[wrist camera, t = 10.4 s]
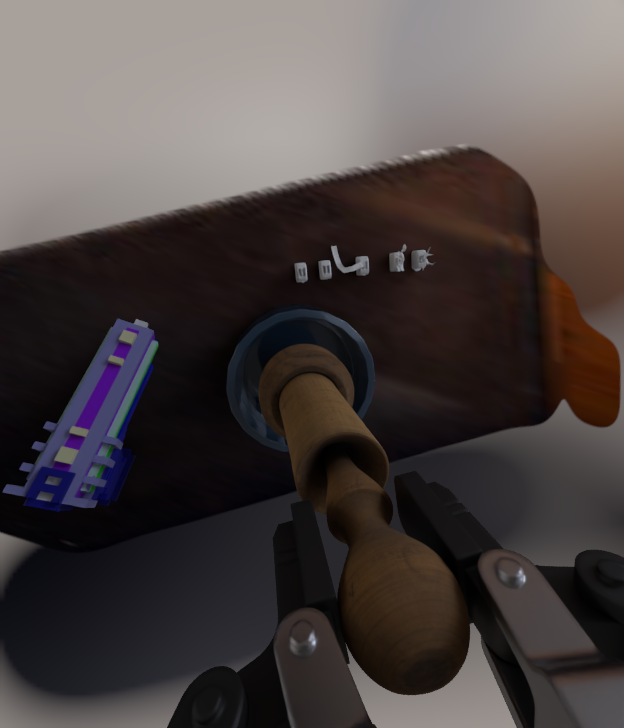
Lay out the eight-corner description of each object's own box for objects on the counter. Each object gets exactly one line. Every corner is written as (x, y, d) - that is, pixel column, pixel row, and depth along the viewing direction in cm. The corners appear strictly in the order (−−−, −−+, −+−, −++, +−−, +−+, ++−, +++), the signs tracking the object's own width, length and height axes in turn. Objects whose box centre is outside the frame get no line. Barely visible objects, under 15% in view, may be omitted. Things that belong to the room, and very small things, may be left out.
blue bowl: (248, 435, 30) (246, 467, 25) (217, 318, 27) (208, 327, 22) (361, 408, 32) (382, 433, 26) (345, 293, 29) (365, 296, 23)
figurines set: (296, 285, 28) (301, 285, 25) (292, 250, 27) (296, 246, 24) (427, 270, 29) (444, 269, 27) (427, 236, 28) (445, 232, 26)
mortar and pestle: (352, 418, 25) (563, 724, 8) (269, 438, 24) (301, 824, 7) (338, 334, 23) (579, 495, 6) (249, 353, 22) (226, 599, 5)
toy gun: (56, 501, 26) (-7, 500, 17) (129, 356, 32) (109, 302, 23) (112, 511, 27) (79, 516, 18) (172, 370, 33) (169, 322, 24)
